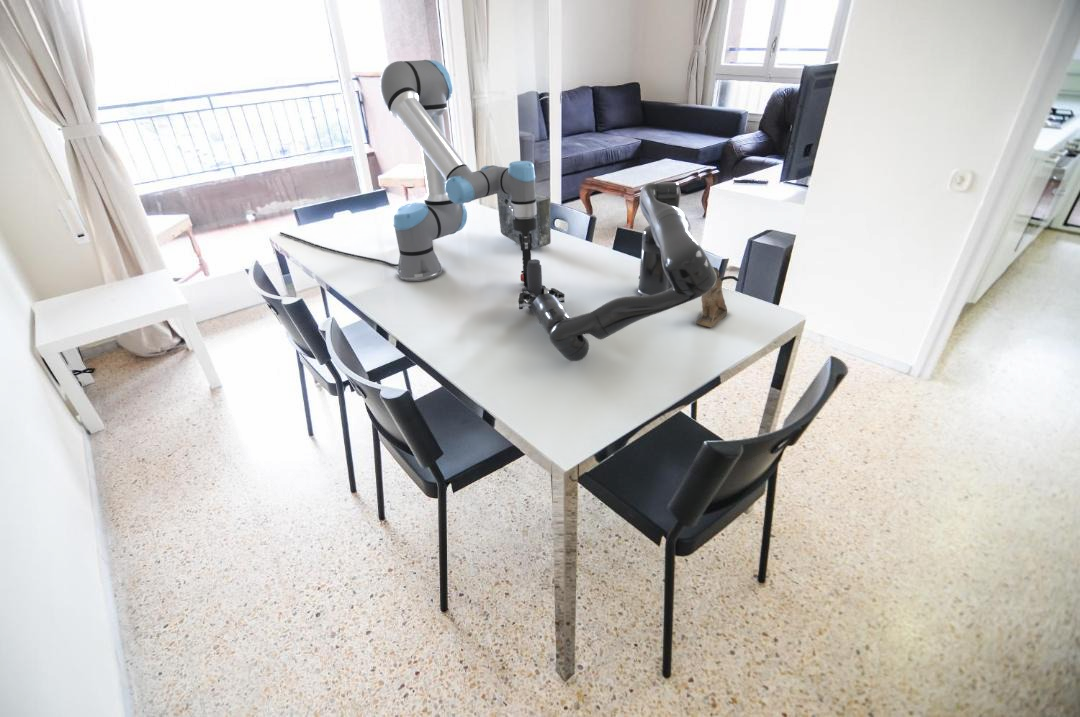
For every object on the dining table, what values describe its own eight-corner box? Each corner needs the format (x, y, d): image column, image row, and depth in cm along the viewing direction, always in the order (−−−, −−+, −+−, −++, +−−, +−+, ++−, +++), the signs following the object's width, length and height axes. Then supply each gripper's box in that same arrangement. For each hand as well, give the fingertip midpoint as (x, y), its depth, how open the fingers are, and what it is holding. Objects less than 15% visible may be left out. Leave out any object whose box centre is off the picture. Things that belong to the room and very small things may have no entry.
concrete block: (555, 250, 192) (555, 197, 181) (537, 255, 188) (535, 201, 177) (517, 234, 210) (514, 185, 200) (499, 238, 206) (496, 189, 196)
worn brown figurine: (709, 335, 136) (713, 280, 124) (691, 329, 139) (693, 274, 128) (730, 313, 142) (736, 258, 130) (712, 307, 145) (716, 253, 133)
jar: (528, 313, 146) (525, 263, 138) (530, 307, 150) (527, 258, 141) (542, 314, 146) (540, 263, 138) (543, 308, 149) (541, 258, 141)
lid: (538, 278, 162) (538, 273, 161) (530, 283, 158) (530, 278, 158) (525, 275, 164) (525, 271, 163) (517, 281, 161) (517, 276, 160)
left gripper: (511, 209, 158) (516, 277, 170) (512, 224, 143) (517, 299, 155) (535, 208, 158) (538, 276, 170) (538, 223, 143) (541, 297, 155)
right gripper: (524, 329, 133) (510, 303, 147) (574, 320, 136) (555, 296, 150) (523, 303, 129) (508, 279, 143) (574, 295, 132) (555, 273, 146)
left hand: (528, 287), depth 163 cm, fingers closed on lid, 5 cm apart
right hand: (532, 288), depth 147 cm, fingers closed on jar, 4 cm apart
